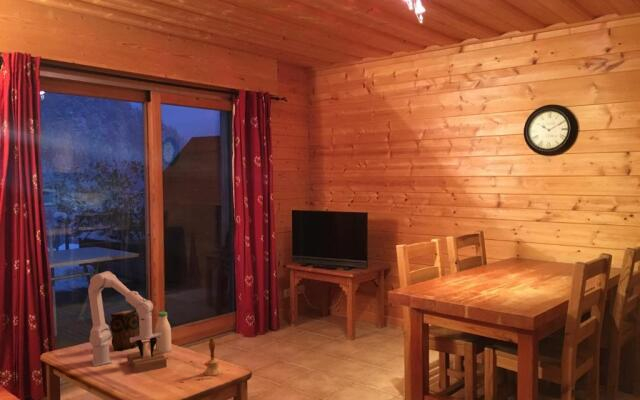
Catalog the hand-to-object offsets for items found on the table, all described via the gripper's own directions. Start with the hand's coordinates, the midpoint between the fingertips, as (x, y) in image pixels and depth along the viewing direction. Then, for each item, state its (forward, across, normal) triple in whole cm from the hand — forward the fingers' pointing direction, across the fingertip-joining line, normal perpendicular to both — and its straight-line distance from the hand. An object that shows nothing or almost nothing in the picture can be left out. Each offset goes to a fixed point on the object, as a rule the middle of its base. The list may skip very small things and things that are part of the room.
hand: (146, 354), depth 250 cm
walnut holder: (+5, 0, 0) cm, 5 cm away
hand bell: (+5, +23, -28) cm, 37 cm away
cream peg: (+3, 0, 0) cm, 3 cm away
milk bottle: (+5, +12, +15) cm, 20 cm away
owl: (+5, -3, +33) cm, 33 cm away
